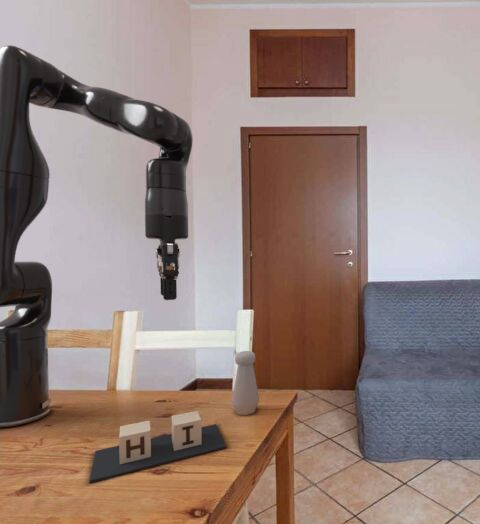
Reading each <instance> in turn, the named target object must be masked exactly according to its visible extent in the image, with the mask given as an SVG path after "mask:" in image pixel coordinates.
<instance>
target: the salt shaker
mask: <svg viewBox="0 0 480 524" xmlns="http://www.w3.org/2000/svg"><path fill="white" fill-rule="evenodd" d="M234 362H235V364H236V365H237V369H236V374H235V379H234V380H235V381H234V387H233V393H232V399H231V405H232V407H233V409H234V410H235V412H236V414H237V415H238V416H239V415H240V416H248V415H252V414H254V413H255V412H256V409H257V408H258V405H259V403H260V395H259V389H258V385H257V379H256V374H255V368H254V363H255V362H256V353H255V352H253V351H251V350H243V351H239V352H237V353H236V354H235V358H234Z"/></svg>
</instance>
